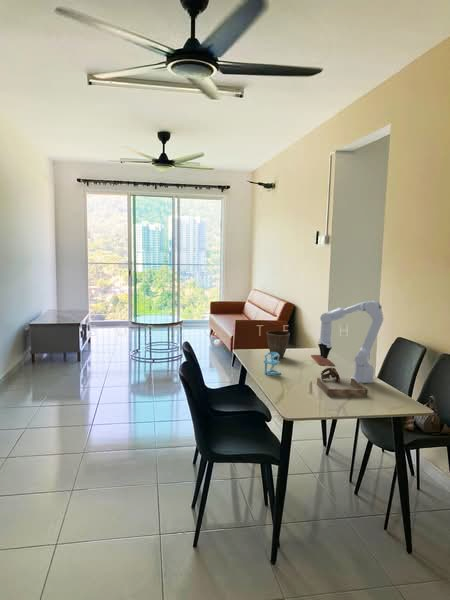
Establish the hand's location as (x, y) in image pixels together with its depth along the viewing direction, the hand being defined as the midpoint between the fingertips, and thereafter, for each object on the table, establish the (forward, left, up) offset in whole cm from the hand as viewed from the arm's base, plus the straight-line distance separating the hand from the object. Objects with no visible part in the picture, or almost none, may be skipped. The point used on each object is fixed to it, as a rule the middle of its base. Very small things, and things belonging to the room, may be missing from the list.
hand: (323, 357), depth 228 cm
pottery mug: (0, +12, -10) cm, 16 cm away
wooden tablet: (-9, -28, -10) cm, 31 cm away
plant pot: (+19, -34, -10) cm, 40 cm away
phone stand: (+30, +1, -10) cm, 32 cm away
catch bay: (0, +27, -9) cm, 29 cm away
